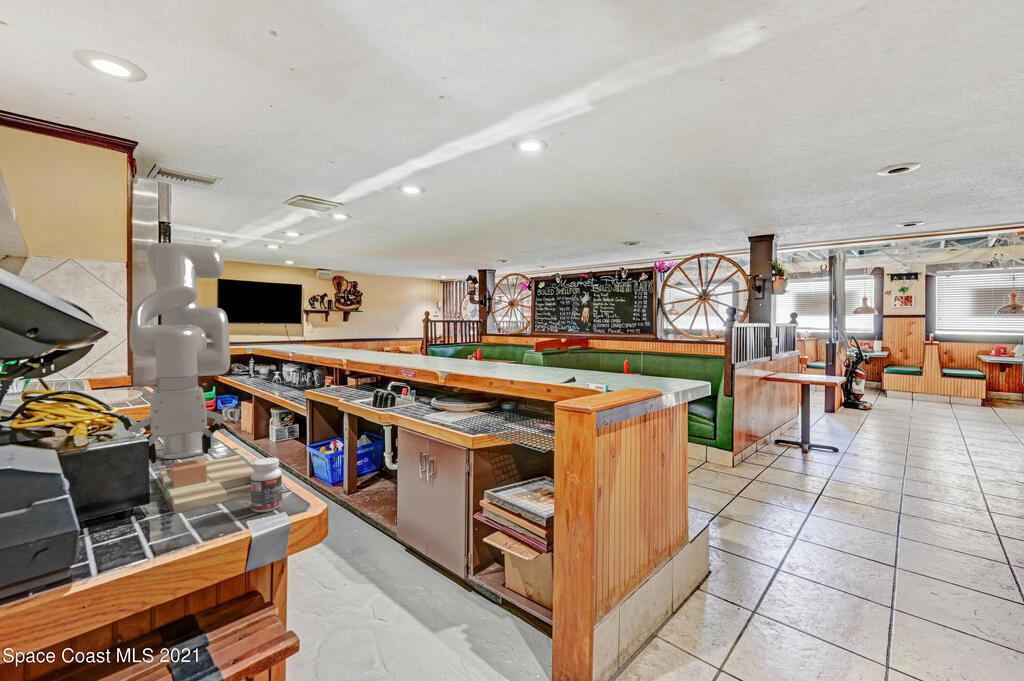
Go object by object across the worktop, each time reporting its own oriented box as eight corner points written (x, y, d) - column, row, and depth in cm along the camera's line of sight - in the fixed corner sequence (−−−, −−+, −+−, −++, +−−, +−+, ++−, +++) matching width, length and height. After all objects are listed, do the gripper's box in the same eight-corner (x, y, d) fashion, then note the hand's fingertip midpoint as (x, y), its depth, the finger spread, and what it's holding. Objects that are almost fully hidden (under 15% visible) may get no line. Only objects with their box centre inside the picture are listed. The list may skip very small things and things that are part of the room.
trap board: (159, 477, 111) (159, 469, 111) (238, 462, 122) (238, 455, 122) (175, 513, 91) (174, 504, 91) (267, 491, 103) (267, 483, 103)
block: (170, 481, 104) (169, 464, 103) (201, 474, 108) (201, 458, 107) (174, 488, 99) (173, 470, 99) (206, 481, 103) (206, 464, 103)
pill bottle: (268, 514, 91) (267, 466, 91) (244, 511, 92) (243, 464, 92) (288, 503, 97) (287, 457, 96) (265, 500, 98) (264, 455, 97)
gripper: (128, 390, 93) (131, 470, 94) (225, 381, 104) (227, 453, 106) (125, 384, 98) (129, 460, 100) (219, 376, 110) (220, 445, 111)
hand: (180, 456), depth 103 cm, fingers open, 9 cm apart
